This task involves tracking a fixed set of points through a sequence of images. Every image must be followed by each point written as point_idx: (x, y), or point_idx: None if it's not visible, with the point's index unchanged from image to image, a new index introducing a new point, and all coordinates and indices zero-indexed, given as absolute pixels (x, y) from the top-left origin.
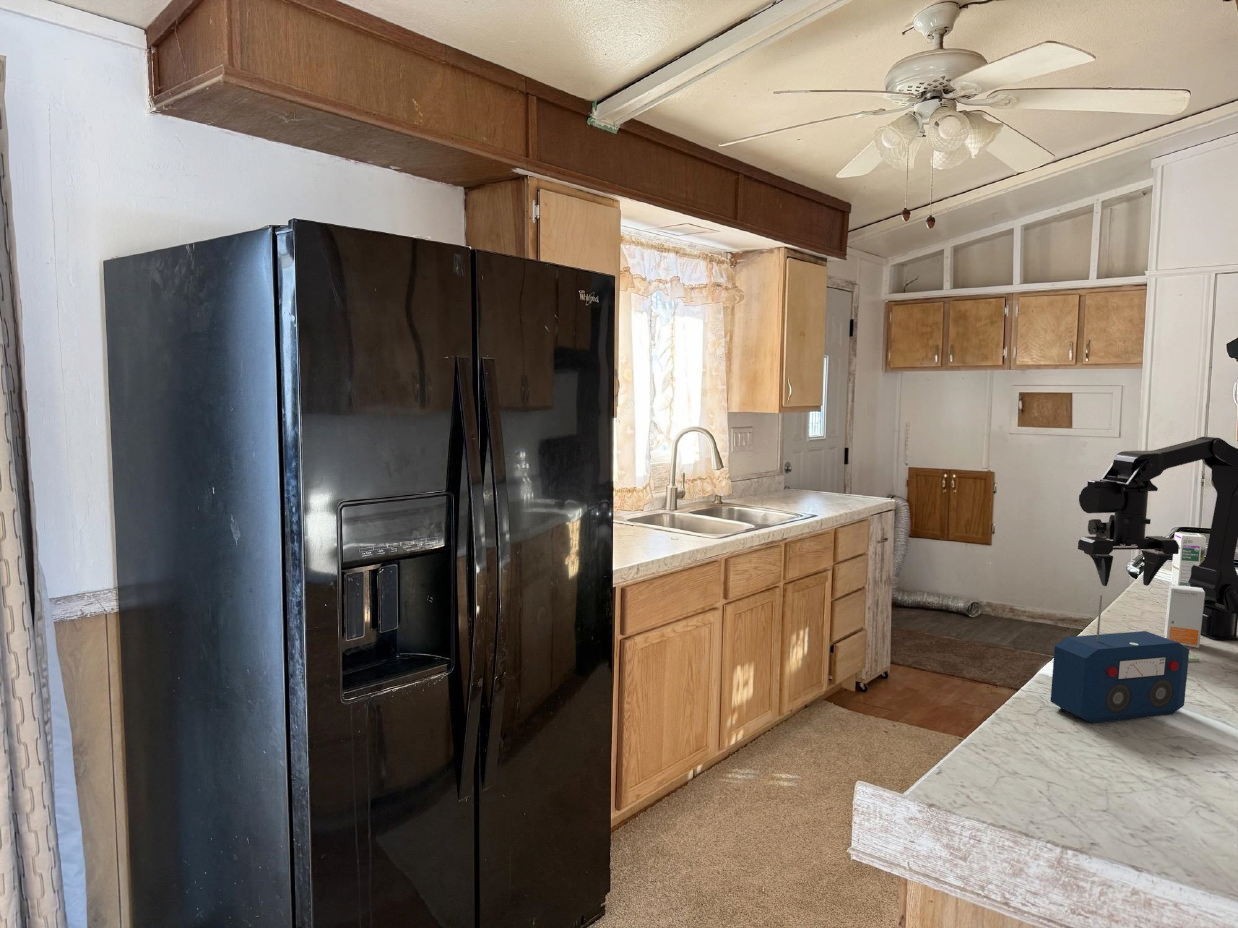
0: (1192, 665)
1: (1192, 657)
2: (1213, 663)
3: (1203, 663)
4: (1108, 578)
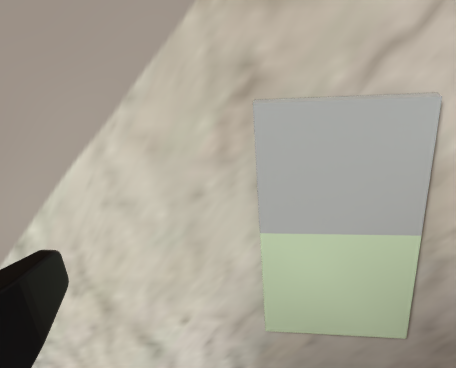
0: (346, 353)
1: (388, 329)
2: (438, 346)
3: (401, 343)
4: (28, 362)
